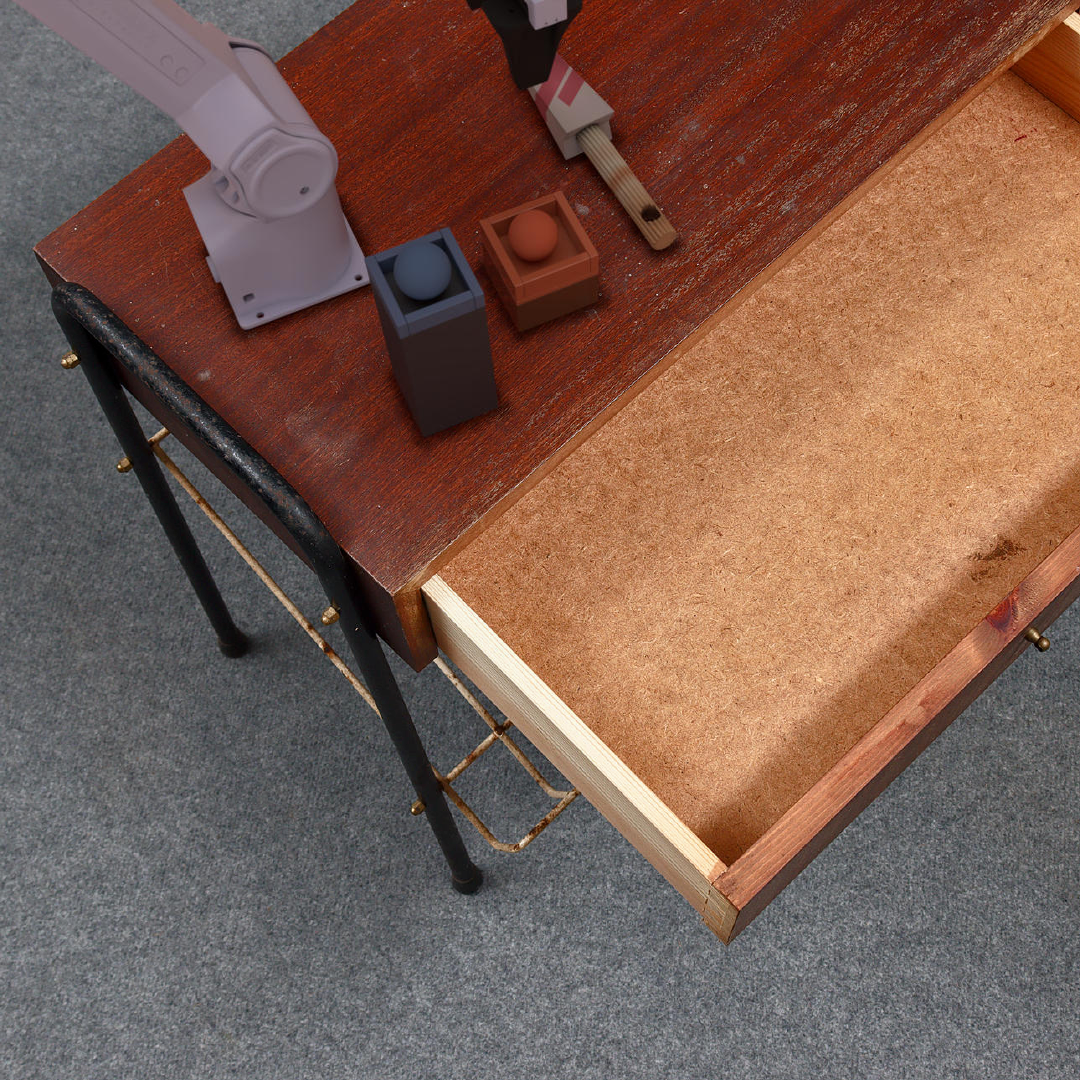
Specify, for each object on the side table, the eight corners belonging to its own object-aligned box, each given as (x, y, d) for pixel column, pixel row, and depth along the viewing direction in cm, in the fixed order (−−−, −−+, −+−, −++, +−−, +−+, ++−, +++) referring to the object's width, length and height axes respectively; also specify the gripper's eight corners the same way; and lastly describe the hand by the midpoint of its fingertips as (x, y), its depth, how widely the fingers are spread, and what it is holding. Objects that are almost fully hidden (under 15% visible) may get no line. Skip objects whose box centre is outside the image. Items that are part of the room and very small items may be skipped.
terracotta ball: (527, 279, 81) (513, 246, 78) (508, 248, 83) (494, 214, 80) (571, 256, 81) (559, 222, 78) (551, 225, 83) (539, 191, 80)
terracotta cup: (519, 333, 84) (515, 287, 79) (484, 268, 86) (478, 220, 81) (598, 301, 84) (599, 254, 80) (562, 238, 87) (560, 189, 82)
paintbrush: (547, 18, 91) (690, 218, 84) (547, 46, 94) (686, 243, 87) (500, 37, 91) (640, 240, 84) (501, 66, 93) (637, 265, 86)
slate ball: (410, 319, 71) (402, 285, 68) (389, 277, 72) (381, 241, 69) (462, 299, 71) (457, 264, 69) (441, 258, 73) (435, 221, 70)
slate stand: (423, 438, 80) (397, 327, 69) (393, 375, 82) (363, 258, 71) (498, 408, 81) (484, 293, 70) (467, 346, 83) (448, 225, 72)
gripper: (618, -97, 66) (613, 97, 78) (507, -254, 72) (519, -51, 84) (493, -54, 65) (509, 136, 77) (391, -217, 71) (420, -17, 83)
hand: (507, 41), depth 81 cm, fingers open, 7 cm apart
